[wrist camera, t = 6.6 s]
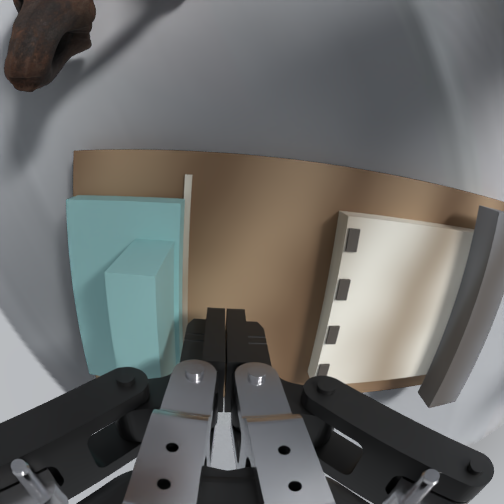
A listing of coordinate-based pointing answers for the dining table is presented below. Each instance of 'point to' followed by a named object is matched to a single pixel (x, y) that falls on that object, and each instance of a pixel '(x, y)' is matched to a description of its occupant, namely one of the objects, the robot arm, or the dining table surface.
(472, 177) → the dining table surface
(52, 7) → the pottery mug
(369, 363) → the ticket holder
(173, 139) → the dining table surface
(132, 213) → the stub
